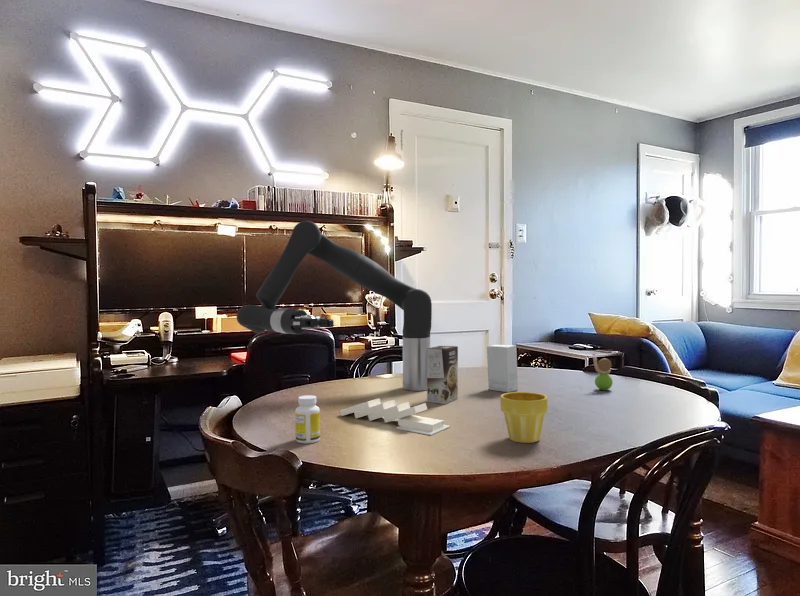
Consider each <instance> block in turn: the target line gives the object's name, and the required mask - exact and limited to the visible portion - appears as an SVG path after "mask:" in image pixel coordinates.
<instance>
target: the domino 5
mask: <svg viewBox="0 0 800 596" xmlns="http://www.w3.org/2000/svg"><path fill="white" fill-rule="evenodd" d="M397 425H398V427H399V426H405V427H410V428H416V429H421V430H426V431H432V432H433V431H436V430H438V429H440V428H443V427H444V425H445V420H443V419H436V418H432V417H426V416H419V415H414V414H412V415H409V416H406V417H402V418H399V419H397Z"/></svg>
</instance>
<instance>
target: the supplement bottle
mask: <svg viewBox="0 0 800 596" xmlns="http://www.w3.org/2000/svg"><path fill="white" fill-rule="evenodd" d="M297 401H298V402H297V403H298V406H297V407H296V408H295V411H294V412H295V413H294V414H295V441H296V442H297V443H299V444H312V443H313V444H314V443H318V442H319V441H320V440H321V415H320V414H321V409H320V407H319V406H317V405H316V404H317V396H316V395H300V396H298V399H297Z"/></svg>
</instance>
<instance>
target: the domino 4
mask: <svg viewBox="0 0 800 596" xmlns="http://www.w3.org/2000/svg"><path fill="white" fill-rule="evenodd" d="M426 410H428V406H427V403H426V402H424V403H422V404H418V405H414V406H412V407H411V406H410V408H408V409H405V410H402V411H399V412H396V413H393V414H390V415H387V416H384V417H383V420H384V423H385V424H387V423H389V422H393V421H396V420H398V419H399V418H402V417H406V416H409V415H414V414H417V413H421V412H424V411H426Z"/></svg>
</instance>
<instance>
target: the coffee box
mask: <svg viewBox="0 0 800 596" xmlns="http://www.w3.org/2000/svg"><path fill="white" fill-rule="evenodd" d="M458 353H459V347H458V345H457V346H456V345H455V346H454V345H437V346H433V347H430V348H427V390H426V402H428V403H434V404H441V405H446V404H448V403H451V402H453V401H455V400H457V399H458V398H459V395H458V394H459V388H458V387H459V381H458V380H459V378H458V377H459V375H458V374H459V369H458V368H459V367H458V366H459V354H458Z"/></svg>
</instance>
